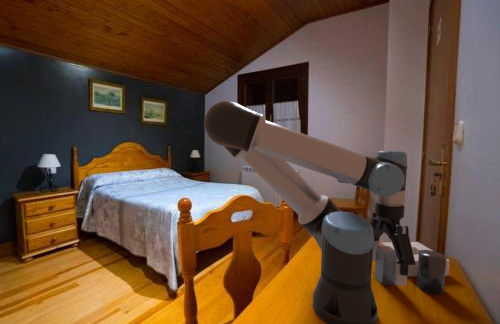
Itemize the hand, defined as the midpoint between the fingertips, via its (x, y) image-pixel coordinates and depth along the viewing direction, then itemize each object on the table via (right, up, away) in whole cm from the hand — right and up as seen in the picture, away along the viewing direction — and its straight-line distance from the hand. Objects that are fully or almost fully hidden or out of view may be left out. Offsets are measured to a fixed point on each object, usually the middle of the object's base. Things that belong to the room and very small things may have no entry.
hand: (386, 271), depth 75 cm
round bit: (+11, -3, -3) cm, 12 cm away
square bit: (0, -3, 0) cm, 3 cm away
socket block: (+14, -2, +10) cm, 17 cm away
